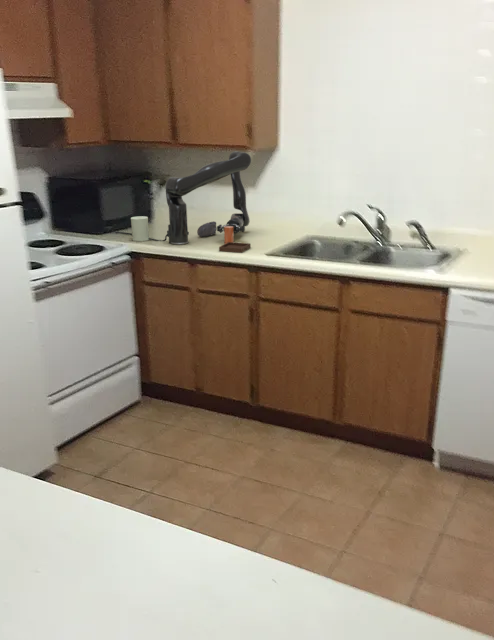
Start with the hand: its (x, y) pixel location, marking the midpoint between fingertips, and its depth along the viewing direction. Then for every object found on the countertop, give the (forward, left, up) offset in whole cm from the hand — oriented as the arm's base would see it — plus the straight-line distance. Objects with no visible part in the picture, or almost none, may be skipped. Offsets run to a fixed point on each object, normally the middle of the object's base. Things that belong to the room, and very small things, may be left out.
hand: (228, 230), depth 341 cm
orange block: (0, 0, -7) cm, 7 cm away
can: (-50, -3, -7) cm, 51 cm away
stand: (+7, -10, -7) cm, 14 cm away
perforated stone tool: (-20, +17, -7) cm, 28 cm away
